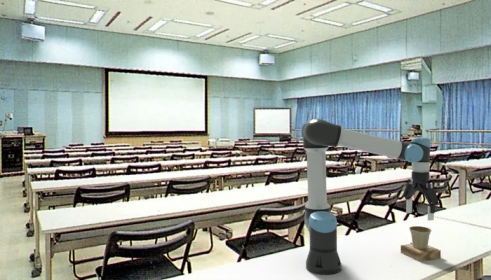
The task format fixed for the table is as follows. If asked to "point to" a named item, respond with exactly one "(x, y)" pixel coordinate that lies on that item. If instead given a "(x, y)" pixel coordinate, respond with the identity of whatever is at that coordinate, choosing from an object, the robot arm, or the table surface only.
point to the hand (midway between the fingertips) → (419, 216)
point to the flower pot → (420, 236)
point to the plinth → (420, 252)
